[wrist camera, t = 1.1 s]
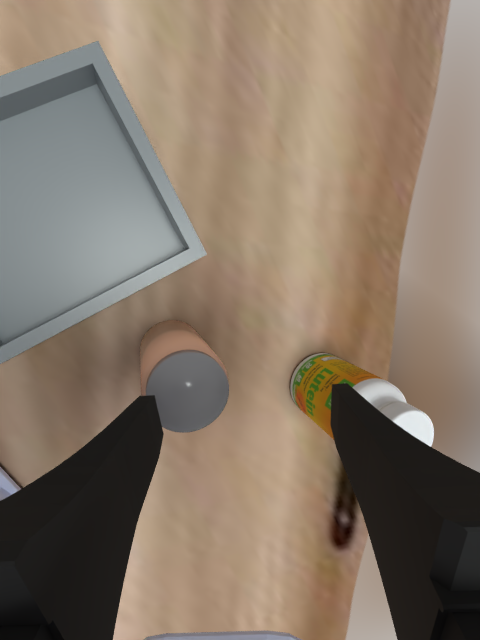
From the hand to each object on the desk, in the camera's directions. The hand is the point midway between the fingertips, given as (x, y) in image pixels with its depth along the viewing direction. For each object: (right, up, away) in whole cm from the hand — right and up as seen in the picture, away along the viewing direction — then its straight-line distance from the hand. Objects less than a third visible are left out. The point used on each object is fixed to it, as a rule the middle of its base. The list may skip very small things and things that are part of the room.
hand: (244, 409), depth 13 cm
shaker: (-5, +1, +10) cm, 11 cm away
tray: (-12, +10, +6) cm, 16 cm away
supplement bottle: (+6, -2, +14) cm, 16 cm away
